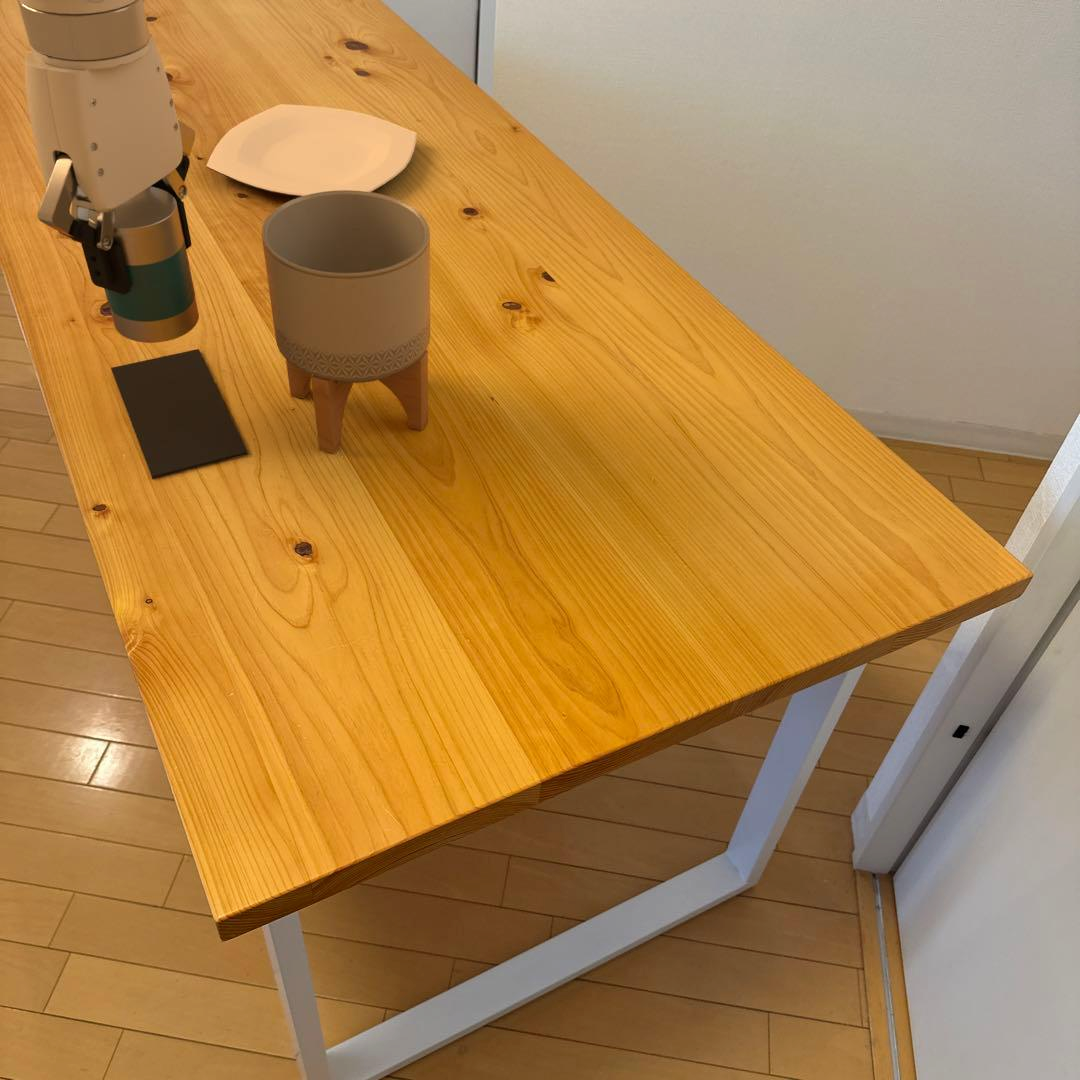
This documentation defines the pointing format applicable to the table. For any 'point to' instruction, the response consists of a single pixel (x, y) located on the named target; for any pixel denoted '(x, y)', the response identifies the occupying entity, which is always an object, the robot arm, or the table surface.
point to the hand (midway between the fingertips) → (143, 263)
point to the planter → (350, 300)
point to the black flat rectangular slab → (177, 413)
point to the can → (152, 270)
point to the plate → (313, 151)
